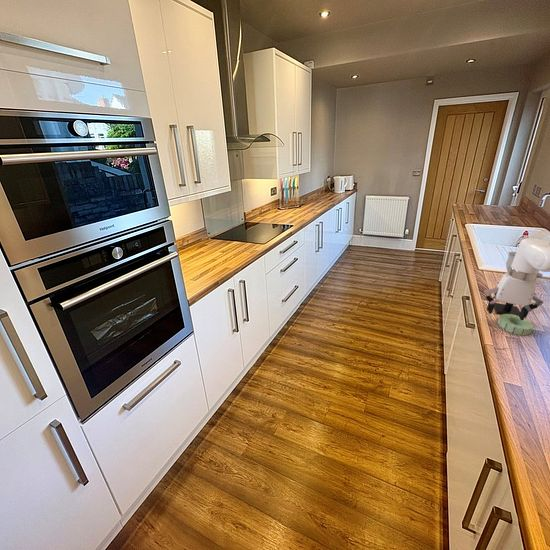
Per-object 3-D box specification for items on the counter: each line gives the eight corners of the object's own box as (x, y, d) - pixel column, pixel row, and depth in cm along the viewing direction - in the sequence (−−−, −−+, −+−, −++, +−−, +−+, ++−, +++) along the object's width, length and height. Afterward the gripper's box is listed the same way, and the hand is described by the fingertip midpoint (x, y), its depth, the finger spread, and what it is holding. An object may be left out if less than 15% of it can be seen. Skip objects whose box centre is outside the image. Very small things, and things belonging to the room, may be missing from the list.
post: (516, 308, 119) (527, 280, 114) (521, 318, 113) (534, 289, 107) (493, 304, 122) (503, 276, 117) (496, 313, 116) (507, 285, 110)
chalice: (495, 292, 132) (508, 255, 124) (495, 286, 137) (508, 250, 129) (515, 296, 128) (530, 258, 120) (514, 290, 133) (529, 254, 125)
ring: (526, 323, 110) (529, 317, 109) (534, 337, 102) (537, 331, 101) (495, 317, 114) (497, 311, 112) (500, 330, 106) (503, 324, 104)
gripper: (550, 274, 100) (530, 315, 107) (490, 265, 106) (476, 304, 114) (558, 283, 94) (536, 326, 101) (494, 273, 100) (478, 314, 108)
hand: (504, 315), depth 108 cm, fingers open, 9 cm apart
